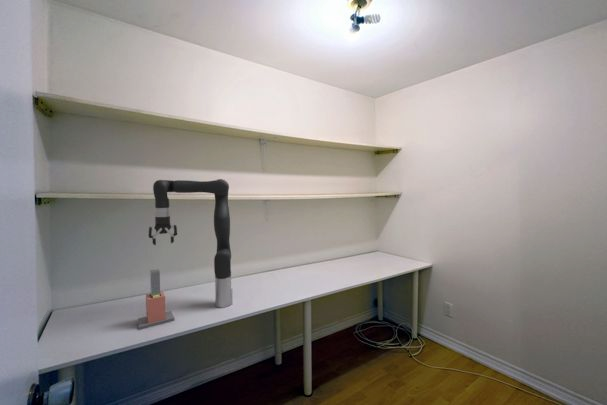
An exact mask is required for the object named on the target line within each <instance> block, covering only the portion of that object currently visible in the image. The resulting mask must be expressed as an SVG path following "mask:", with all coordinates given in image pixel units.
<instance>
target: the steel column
mask: <svg viewBox="0 0 607 405" xmlns="http://www.w3.org/2000/svg"><path fill="white" fill-rule="evenodd" d="M160 273H161V272H160V270H159V269H158V268H157V269H152V270H149V282H150V283H149V284H150V285H149V286H150V292H149V294H151V298H153V296H154V295H160V291H161V276H160Z"/></svg>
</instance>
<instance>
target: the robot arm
mask: <svg viewBox="0 0 607 405" xmlns="http://www.w3.org/2000/svg"><path fill="white" fill-rule="evenodd" d="M229 190H230V186H229V182H228V181H226V180H225V179H222V178H220V179H216V180H214V179H213V180H209V181H199V180H184V179H183V180H179V179H178V180H171V179H169V180H168V179H167V180H166V179H164V180H163V179H158V180H156V181H155V182H154V183H153V186H152V191H153V196H154V200H155V202H154V208H155V209H154V223H155V224H154V226H148V238H149V239H152V244H153V245H154V246H157V242H156V240H157V239H156V237H157V236H158V235H159V234H160V235H162V234H164V235H166V234H167V233H168V234H169V235H170V243H171V244H173V243H174V242H175V237H176V236H178V229H177V228H178V227H177V225H176V224H173V225H171V210H170V199H169V197H168V193H179V194H186V193H187V194H188V193H189V194H192V193H195V194H196V193H205V194H206V193H208V194H213V195H214V201H215V202H214V204H215V205H214V212H213V229H214V230H213V231H214V234H215V237H216V253H215V255H214V258H213V261H214V262H213V264H214V265H213V266H214V267H213V268H214V269H213V270H214V282H215V283H214V285H215V286H214V287H215V288H214V292H215V293H214V294H215V295H214V296H215V297H214V298H215V300H214V301H215V307H217V308H227V307H230V306H231V305H233V301H234V299H233V288H232V267H231V266H232V265H231V259H232V252H231V244H230V243H231V242H230V236H231V215H230V214H231V213H230V208H229ZM171 228H172V229H173V233H172V231H170V230H171ZM154 230H155V232H154V233H152V232H153V231H154ZM152 234H153V235H152Z"/></svg>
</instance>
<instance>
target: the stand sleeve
mask: <svg viewBox="0 0 607 405" xmlns="http://www.w3.org/2000/svg"><path fill="white" fill-rule="evenodd" d="M145 308H146V309H145V310H146V315H145V316H143V317H138V318H137V324H138V330H140V331H141V330H144V329H149V328H153V327H155V326H159V325H162V324H167V323H171V322H174V321H175V316H174V314H173V311H172V310H168V311H166V310H167V309H166V295H165V292H164V291H163V290H160V295H154V296H153V298H151V294H150V293H146V294H145Z"/></svg>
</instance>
